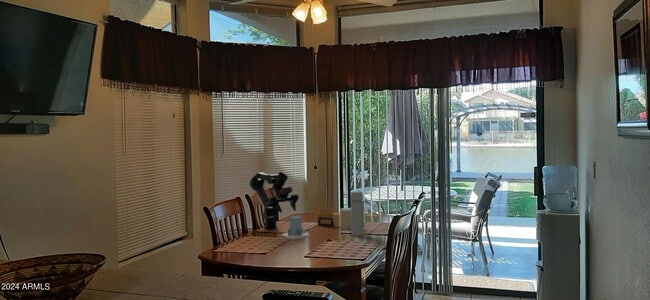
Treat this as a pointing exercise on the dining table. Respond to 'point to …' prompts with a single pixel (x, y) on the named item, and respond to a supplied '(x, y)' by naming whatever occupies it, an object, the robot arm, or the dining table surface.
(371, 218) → the dining table surface
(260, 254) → the dining table surface
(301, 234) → the base plate
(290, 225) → the block
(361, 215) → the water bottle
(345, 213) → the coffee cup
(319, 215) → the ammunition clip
